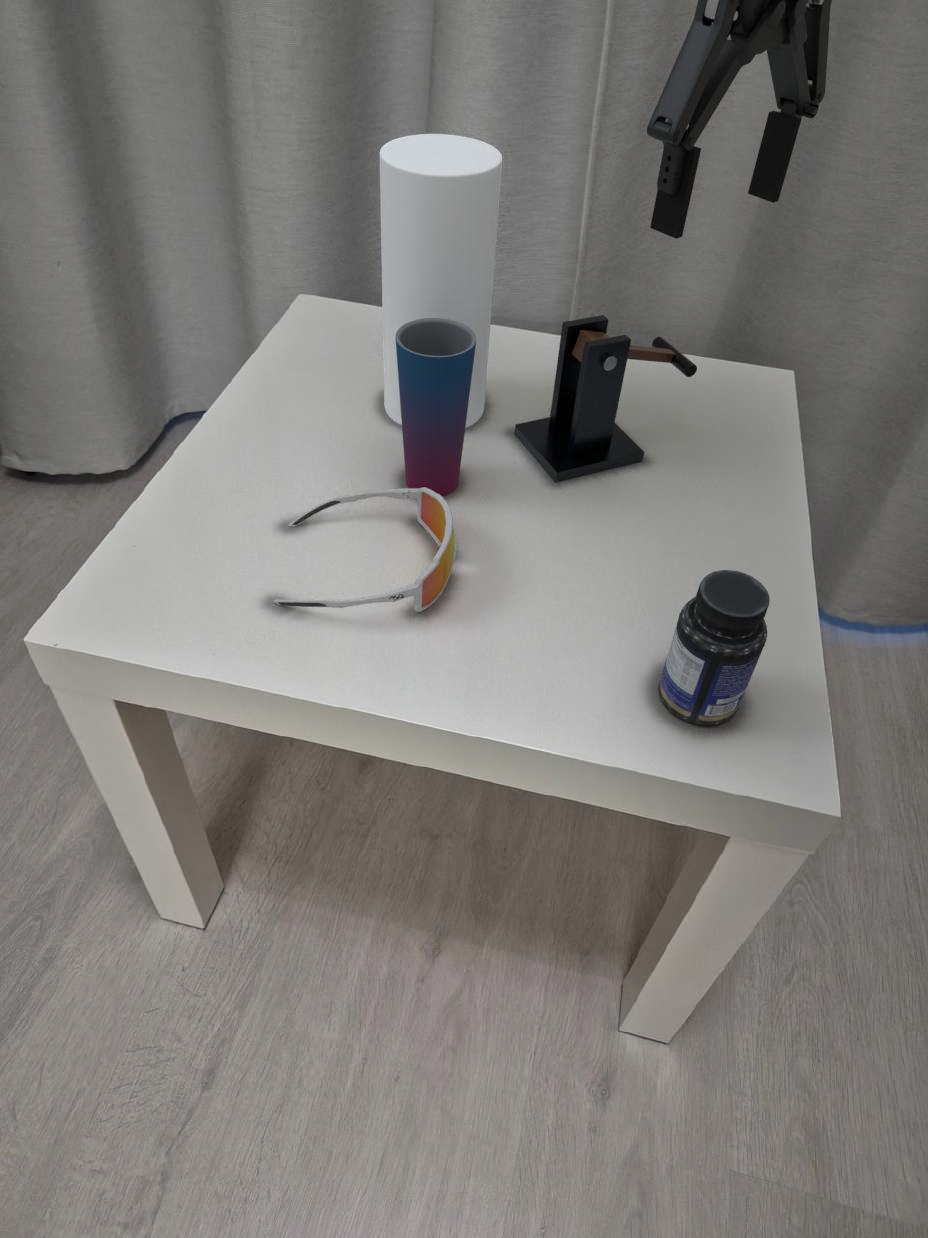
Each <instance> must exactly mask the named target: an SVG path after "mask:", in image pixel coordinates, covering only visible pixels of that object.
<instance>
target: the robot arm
mask: <svg viewBox="0 0 928 1238" xmlns="http://www.w3.org/2000/svg"><path fill="white" fill-rule="evenodd" d="M832 2H833V0H697V4H696V8H695V11H694V15H693V16H694V17H693V20H692V21H691V24H690V26H689V29H688V32H687V34H686V35H685V38H684V40H683V43H682V45H681V47H680V50H679V52H678V55H677V57H676V59H675V62H674V63H673V66H672V68H671V70H670V73H669V75H668V78H667V79H666V81H665V82H666V83H665V84H664V87H663V89H662V92H661V94H660V96H659V99H658V101H657V103H656V105H655V107H654V110H653V113H652V115H651V118H650V119H649V122H648V124H647V127H646V134H647V136H648V137H650V138H653V139H655V140H656V141H660V142H661V143H662V144H663V148H662V149H663V150H662V154H661V159H660V164H659V165H660V166H659V171H658V176H657V181H656V188H657V189H656V195H655V200H654V205H653V211H652V215H651V222H650V226H649V228H650V229H652V230H654V231H657V232H659V233H661V234H664V235H666V236H668V237H671V238H674V239H676V240H678V239H680V238H682V237H683V236H684V235H683V234H684V231H685V226H686V221H687V217H688V212H689V208H690V202H691V198H692V194H693V189H694V184H695V181H696V175H697V170H698V166H699V161H700V157H701V152H702V148H700V147H698V146H695V145H696V143H697V142H698V140H699V138H700V137H701V135H702V133H703V131H704V130H705V129H706V127H707V125H708V123H709V121H710V120H711V118H712V116H713V115H714V113H715V112H716V110H717V109H718V106H719V105H720V103H721V102H722V100H723V99H724V97H725V95H726V93H727V92H728V90H729V89H730V87H731V85H732V84H733V82H734V81H735V79H736V77H737V75H738V73H739V72H740V71H741V69H742V68H743V67H744V66H746V65H749V64H750V63H751V62H752V61H753V60H754V58H755V57H756V56H758V55H761V54H763V53H764V52H766V55H767V61H768V65H769V70H770V76H771V81H772V82H771V83H772V86H773V87H772V88H773V92H774V97H775V103H776V107H777V109H778V110H780V111H777V110H771V111H769V112H768V114H767V118H766V122H765V126H764V129H763V132H762V133H763V134H762V137H761V141H760V146H759V148H758V153H757V157H756V160H755V164H754V169H753V171H752V176H751V180H750V184H749V188H748V190H747V194H748V195H751V196H754V197H756V198H759V199H762V200H764V201H768V202H770V203H774V204H775V203H777V202H779V200H780V196H781V193H782V190H783V186H784V183H785V179H786V175H787V172H788V168H789V165H790V162H791V158H792V155H793V150H794V147H795V144H796V140H797V138H798V137H797V136H798V134H799V130H800V127H801V122H802V118H803V117H804V118H808V119H811V120H812V119H814V118H815V117H816V115H817V114H818V111H819V107H820V104H821V103H822V101H823V100H824V98H825V94H826V84H827V71H828V69H827V67H828V52H829V38H830V37H829V36H830V24H831V23H830V20H831V6H832ZM728 38H730V39H728ZM809 81H810V82H811V83H809Z"/></svg>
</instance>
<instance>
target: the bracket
mask: <svg viewBox="0 0 928 1238" xmlns="http://www.w3.org/2000/svg"><path fill="white" fill-rule="evenodd" d="M608 325H609V318H608V317H606V316H605V315H604V314H600V315H595V316H589V317H583V318H579V319H573V320H572V319H571V320H566V321H563V322H562V325H561V326H562V327H561V333H560V342H559V348H558V356H557V363H556V369H555V376H554V383H553V393H552V400H551V405H550V406H551V407H550V413H549V416H547V417H542V418H539V419H533V420H530V421H525V422H520V423H516V424H514V432H513V434H514V436H515V437H516V438H517V439H518V440H519V441H520V442H521V444H522V445H523V446H524V447H525V448H526V449H527V451H528V452H529V453H530V454H531V456H532V457H533V458H534V459H535V460H536V461H537V462H538V464H539V465H540V466H541V467H542V469H544V471H545V472H546V473H547V474H548V476H550V478H551V479H552V481H554V483H560V482H563V481H567V480H572V479H575V478H581V477H584V476H589V475H593V474H597V473H600V472H605V471H608V470H613V469H617V468H620V467H625V466H629V465H633V464H638V463H641V462H643V460H644V455H645V451H644V450H643V449H642V448H641V447H640V446H639V445H638V443H636V442H635V441H634V440H633V438H631V437H630V435H628V434H627V433H626V432H625V431H624V430H623V429H622V427H620V426H619V425H618V424H617V423H616V419H617V414H618V409H619V405H620V404H619V403H620V397H621V393H622V389H623V382H624V377H625V373H626V367H627V363H628V362H627V361H628V359H627V358H628V353H629V348H630V345H631V341H632V339H631V338H630V337H629V336H628V335H627V334H621V335H616V336H611V337H610V336H609V337H610V338H605V339H600V340H594V341H589V342H585V343H584V349H583V356H582V362H580V361H579V360H578V359H577V358H576V357H575V356H574V355H573V354H572V352H573V349H574V346H575V344H576V341H577V338H578V336H579V333H580V331H581V330H586V331H595V332H603V333H605V334H606V335H607V331H608Z"/></svg>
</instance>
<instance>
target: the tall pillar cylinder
mask: <svg viewBox="0 0 928 1238" xmlns="http://www.w3.org/2000/svg"><path fill="white" fill-rule="evenodd" d="M502 173H503V155H502V153H501V152H500V151H499V150H498V149H497V148H496V147H495V146H493V145H492V144H490V143H488V142H486V141H482V140H479V139H477V138H476V139H475V138H472V137H469V136H464V135H463V136H462V135H456V134H448V133H419V134H418V133H417V134H411V135H405V136H401V137H398V138H394V139H392V140H390V141H388V142H386V143H384V145H382V147H380V150H379V192H380V193H379V194H380V195H379V197H380V198H379V199H380V200H379V201H380V250H381V251H380V252H381V253H380V254H381V255H380V256H381V303H382V304H381V306H382V307H381V309H382V310H381V311H382V357H383V358H382V361H383V364H382V365H383V403H384V410H385V412H386V414H387V416H388V417H389V418H390V419H391V420H393V421H394V423H396V424H398V425H400V426H402V420H401V407H400V393H399V380H398V366H397V353H396V339H395V337H396V332H397V330H398V329H399V328H400V327H401V326H402V325H404V324H406V323H408V322H410V321H413V320H417V319H423V318H443V319H450V320H454V321H457V322H460V323H462V324H464V325H466V326H468V327H469V328H470V329H472V331H473V332H474V333H475V335H476V347H475V355H474V363H473V371H472V379H471V387H470V395H469V402H468V410H467V418H466V426H465V429H467V428H469V427H470V426H472V425H474V424H476V423H477V422H478V421H479V420H480V419H481V417H482V416H483V415H484V411H485V404H486V403H485V402H486V390H487V389H486V388H487V375H488V363H489V362H488V361H489V347H490V337H491V335H490V333H491V321H492V309H493V307H492V306H493V295H494V294H493V293H494V283H495V268H496V255H497V243H498V242H497V241H498V227H499V226H498V225H499V215H500V214H499V213H500V200H501V199H500V198H501V187H502V175H503V174H502Z"/></svg>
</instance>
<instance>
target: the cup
mask: <svg viewBox="0 0 928 1238" xmlns="http://www.w3.org/2000/svg"><path fill="white" fill-rule="evenodd" d="M395 339H396V353H397V366H398V380H399V393H400V407H401V420H402V425H401V432H402V433H401V434H402V447H403V458H404V472H405V473H404V475H405V483H406V487H407V488H423V487H426V488H428V489H430V490H432V491H434V492H435V493H437V494H438V493H439V494H440V495H441V496H442V497H445V496H448V495H450V494H452V493H454V492H455V491H456V489H457V488H458V486H459V480H460V474H461V473H460V472H461V465H462V457H463V450H464V449H463V448H464V442H465V441H464V440H465V433H466V428H465V426H466V418H467V410H468V402H469V395H470V387H471V379H472V371H473V363H474V355H475V347H476V335H475V333H474V332H473V331H472V329H470V328H469V327H468V326H466V325H464V324H462V323H460V322H457V321H454V320H450V319H443V318H423V319H417V320H413V321H410V322H408V323H406V324H404V325H402V326H401V327H400V328H399V329H398V330H397V332H396V337H395Z"/></svg>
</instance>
